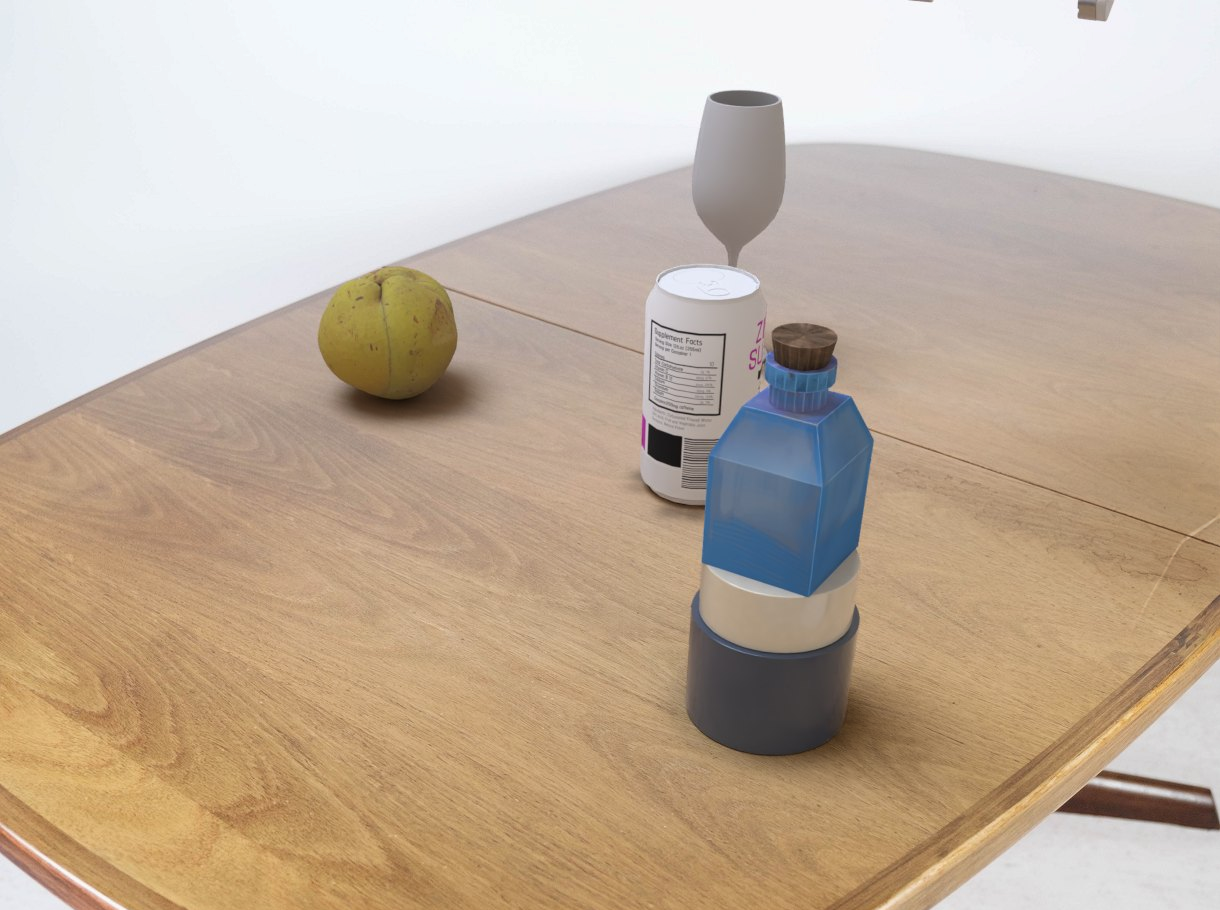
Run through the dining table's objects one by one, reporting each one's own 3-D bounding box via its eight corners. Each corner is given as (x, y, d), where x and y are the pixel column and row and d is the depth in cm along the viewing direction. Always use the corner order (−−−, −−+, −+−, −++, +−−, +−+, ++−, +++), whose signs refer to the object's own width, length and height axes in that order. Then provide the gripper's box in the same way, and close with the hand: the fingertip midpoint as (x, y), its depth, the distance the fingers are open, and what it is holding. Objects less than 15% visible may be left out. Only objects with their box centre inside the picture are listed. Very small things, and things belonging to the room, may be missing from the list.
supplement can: (624, 467, 100) (628, 268, 91) (723, 451, 103) (738, 255, 94) (665, 517, 94) (674, 309, 85) (770, 498, 97) (790, 294, 88)
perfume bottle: (858, 546, 71) (890, 328, 64) (808, 597, 67) (837, 371, 60) (755, 514, 74) (775, 302, 67) (701, 562, 70) (716, 341, 63)
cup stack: (852, 672, 79) (875, 524, 73) (836, 767, 72) (860, 612, 66) (701, 650, 81) (711, 503, 75) (670, 740, 74) (679, 586, 68)
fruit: (493, 395, 110) (488, 275, 104) (375, 436, 104) (363, 310, 98) (413, 355, 117) (404, 240, 111) (298, 391, 110) (282, 270, 104)
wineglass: (784, 363, 116) (809, 105, 104) (705, 375, 114) (721, 113, 101) (745, 332, 122) (765, 84, 109) (669, 343, 120) (681, 91, 107)
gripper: (895, -284, 73) (809, -57, 72) (1294, -273, 65) (1203, -20, 64) (909, -189, 79) (829, 21, 78) (1277, -169, 71) (1193, 64, 70)
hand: (1001, 3), depth 71 cm, fingers open, 8 cm apart
